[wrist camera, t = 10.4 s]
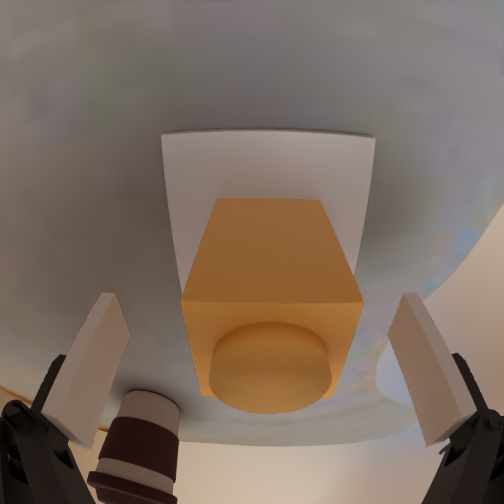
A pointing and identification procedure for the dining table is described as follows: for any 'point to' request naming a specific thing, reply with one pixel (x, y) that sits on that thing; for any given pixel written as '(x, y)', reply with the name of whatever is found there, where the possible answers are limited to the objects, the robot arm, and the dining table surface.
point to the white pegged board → (265, 179)
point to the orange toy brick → (269, 305)
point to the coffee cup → (139, 452)
